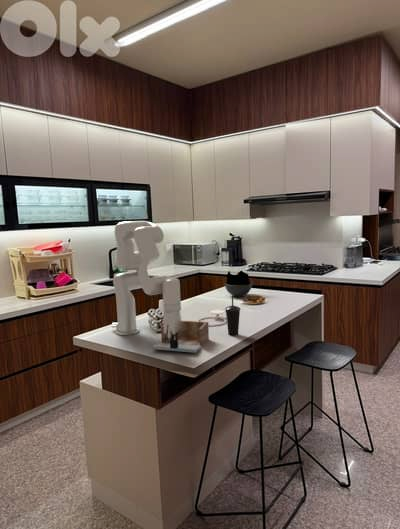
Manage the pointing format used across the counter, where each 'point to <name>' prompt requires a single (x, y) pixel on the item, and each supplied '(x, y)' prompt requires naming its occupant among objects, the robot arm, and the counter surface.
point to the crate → (190, 333)
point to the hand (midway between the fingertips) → (174, 347)
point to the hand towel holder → (215, 317)
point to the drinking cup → (232, 319)
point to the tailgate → (180, 348)
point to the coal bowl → (238, 284)
